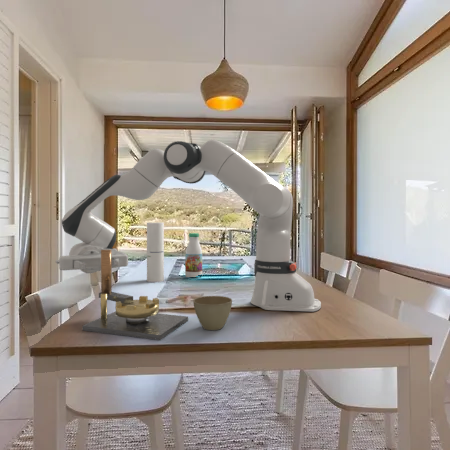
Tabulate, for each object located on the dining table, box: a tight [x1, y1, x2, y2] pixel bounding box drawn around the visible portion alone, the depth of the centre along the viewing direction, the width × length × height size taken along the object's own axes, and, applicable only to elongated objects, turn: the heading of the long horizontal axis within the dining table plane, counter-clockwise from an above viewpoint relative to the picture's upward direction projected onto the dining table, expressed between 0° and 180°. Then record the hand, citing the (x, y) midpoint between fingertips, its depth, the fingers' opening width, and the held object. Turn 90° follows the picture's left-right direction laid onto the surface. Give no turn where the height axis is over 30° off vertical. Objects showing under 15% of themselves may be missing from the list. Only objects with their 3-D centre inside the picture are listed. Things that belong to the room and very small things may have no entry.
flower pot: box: [192, 295, 233, 331], centre depth 94 cm, size 10×10×7 cm
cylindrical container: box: [146, 221, 165, 283], centre depth 157 cm, size 7×7×25 cm
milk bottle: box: [184, 232, 203, 278], centre depth 167 cm, size 8×8×20 cm
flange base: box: [82, 293, 189, 341], centre depth 96 cm, size 22×16×8 cm
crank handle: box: [98, 249, 160, 318], centre depth 98 cm, size 20×11×15 cm, turn 54°
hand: (100, 264), depth 107 cm, fingers open, 8 cm apart
